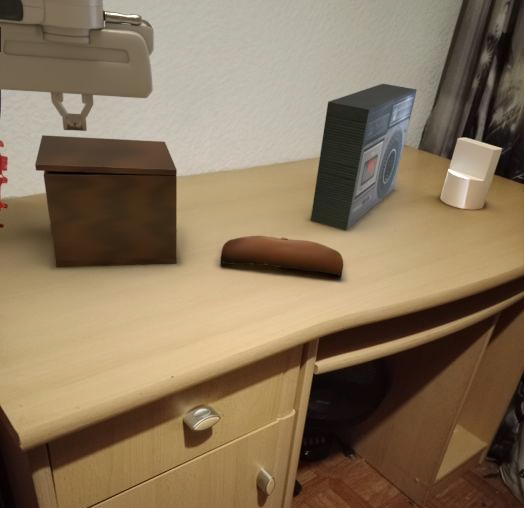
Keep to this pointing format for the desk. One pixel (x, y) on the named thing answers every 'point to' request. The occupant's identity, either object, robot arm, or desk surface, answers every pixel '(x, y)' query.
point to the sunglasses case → (282, 254)
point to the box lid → (104, 156)
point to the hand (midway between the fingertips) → (75, 129)
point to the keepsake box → (112, 218)
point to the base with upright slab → (470, 174)
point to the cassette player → (360, 153)
